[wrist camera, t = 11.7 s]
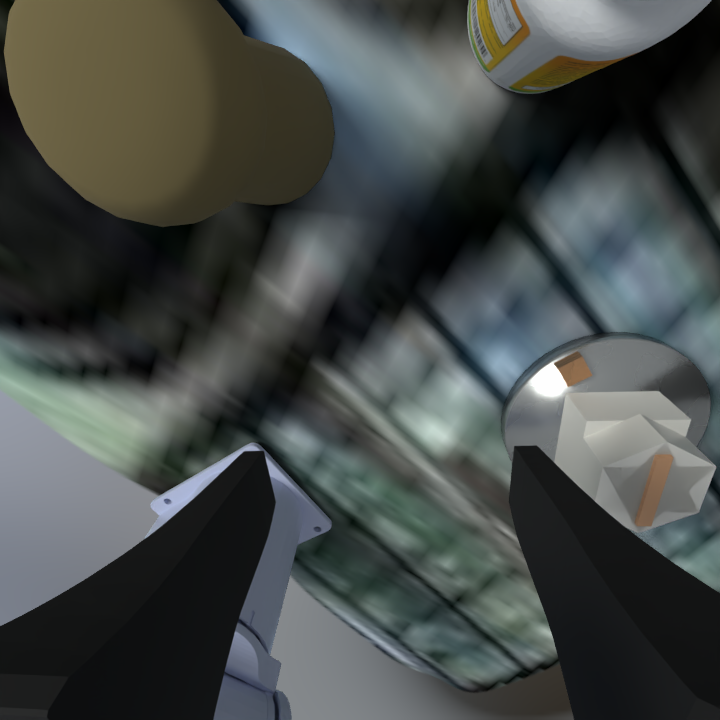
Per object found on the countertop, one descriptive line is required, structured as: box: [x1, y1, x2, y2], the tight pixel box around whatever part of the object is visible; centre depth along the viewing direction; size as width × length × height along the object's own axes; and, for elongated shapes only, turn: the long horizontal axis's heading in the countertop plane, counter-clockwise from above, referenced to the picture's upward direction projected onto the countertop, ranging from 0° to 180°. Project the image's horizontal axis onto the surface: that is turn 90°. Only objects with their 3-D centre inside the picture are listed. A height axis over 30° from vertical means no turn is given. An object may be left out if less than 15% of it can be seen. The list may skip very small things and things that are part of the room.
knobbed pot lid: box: [501, 332, 711, 463], centre depth 21 cm, size 10×10×3 cm
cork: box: [4, 0, 335, 227], centre depth 13 cm, size 6×6×11 cm
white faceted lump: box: [554, 391, 716, 533], centre depth 20 cm, size 5×4×5 cm
